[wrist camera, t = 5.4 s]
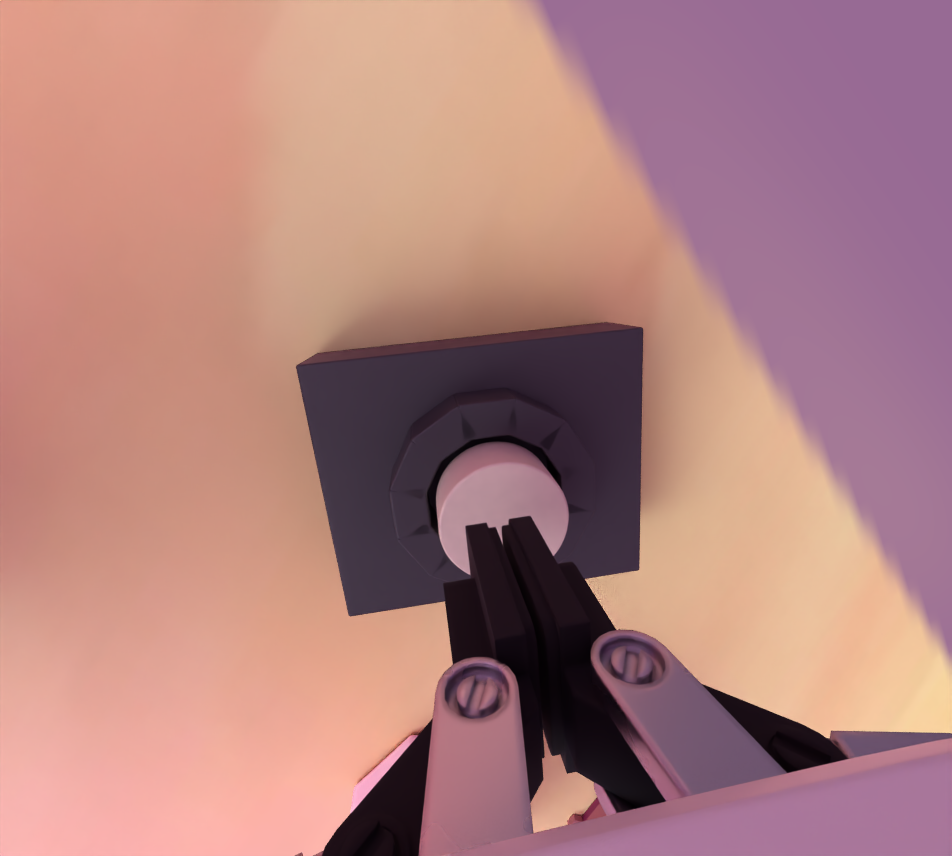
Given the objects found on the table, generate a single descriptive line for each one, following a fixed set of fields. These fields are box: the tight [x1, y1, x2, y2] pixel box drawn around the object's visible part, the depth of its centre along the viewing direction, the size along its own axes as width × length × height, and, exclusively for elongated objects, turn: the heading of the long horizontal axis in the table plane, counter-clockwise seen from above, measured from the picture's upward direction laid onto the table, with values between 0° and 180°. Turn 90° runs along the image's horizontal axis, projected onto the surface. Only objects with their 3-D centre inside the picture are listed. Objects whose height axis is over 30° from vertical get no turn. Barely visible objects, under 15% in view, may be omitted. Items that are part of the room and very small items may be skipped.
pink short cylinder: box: [436, 441, 569, 575], centre depth 15 cm, size 4×4×2 cm
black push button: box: [296, 322, 643, 616], centre depth 17 cm, size 12×10×5 cm
